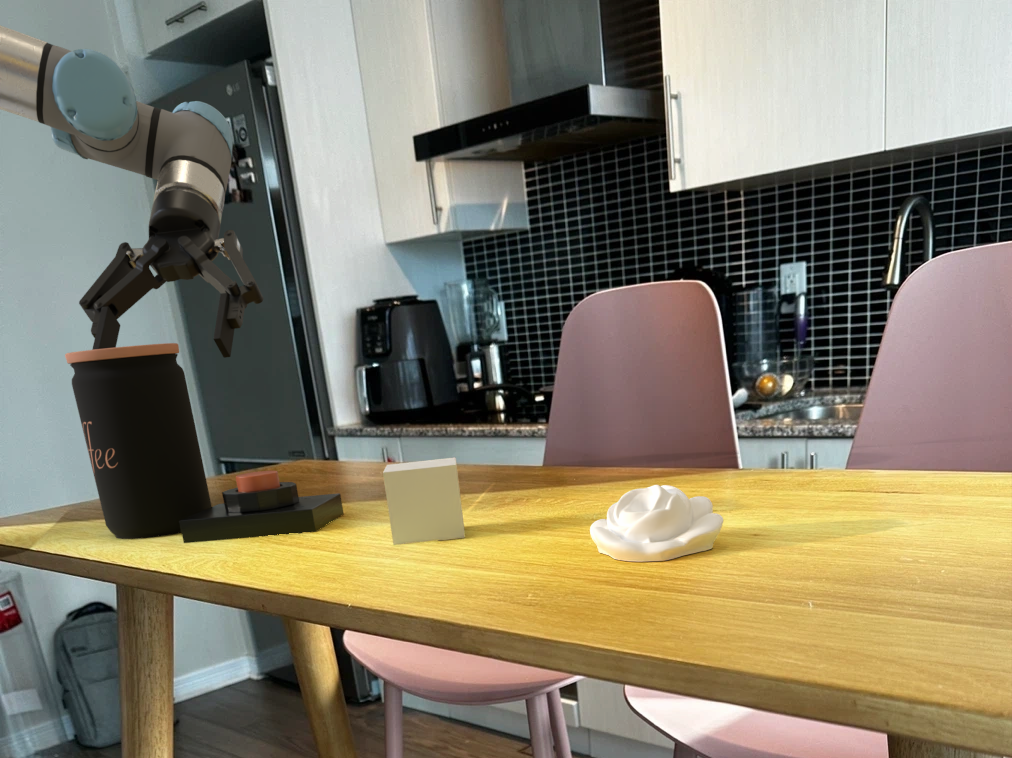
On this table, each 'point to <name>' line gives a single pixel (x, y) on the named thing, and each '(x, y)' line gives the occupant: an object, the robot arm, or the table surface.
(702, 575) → the table surface
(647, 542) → the rose
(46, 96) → the robot arm
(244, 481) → the button
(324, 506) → the control block
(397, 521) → the beige cube
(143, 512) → the coffee jar
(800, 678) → the table surface
